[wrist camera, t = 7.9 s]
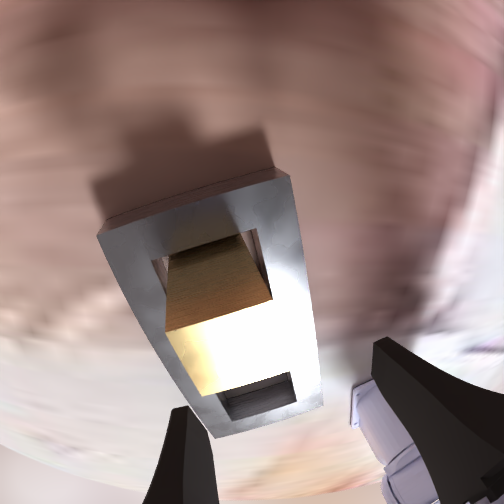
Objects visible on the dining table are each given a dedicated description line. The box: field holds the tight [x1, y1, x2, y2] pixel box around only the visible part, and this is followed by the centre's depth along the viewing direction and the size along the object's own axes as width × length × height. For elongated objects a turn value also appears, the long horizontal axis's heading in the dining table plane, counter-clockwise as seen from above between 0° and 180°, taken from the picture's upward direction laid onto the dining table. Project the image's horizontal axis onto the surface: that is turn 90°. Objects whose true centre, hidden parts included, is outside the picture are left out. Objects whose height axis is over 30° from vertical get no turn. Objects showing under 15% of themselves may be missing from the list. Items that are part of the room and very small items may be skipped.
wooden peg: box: [165, 233, 289, 396], centre depth 15 cm, size 4×4×8 cm
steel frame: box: [96, 167, 323, 439], centre depth 20 cm, size 20×10×2 cm, turn 13°
